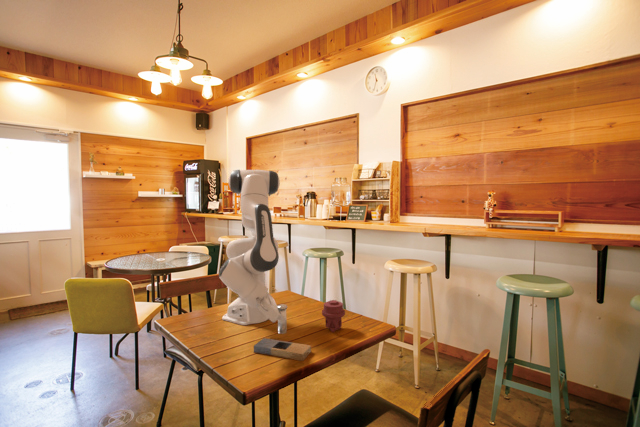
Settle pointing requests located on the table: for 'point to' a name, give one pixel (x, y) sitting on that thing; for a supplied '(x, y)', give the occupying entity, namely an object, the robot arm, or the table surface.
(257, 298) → the robot arm
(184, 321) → the table surface
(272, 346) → the two-tone slotted plate
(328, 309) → the mechanical component
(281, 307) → the metal peg
